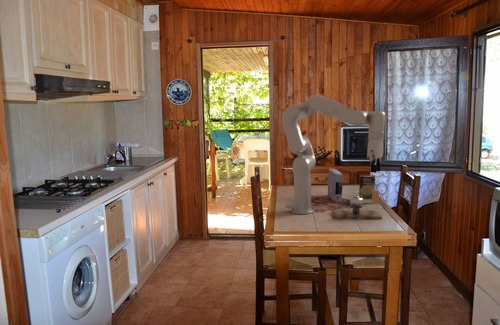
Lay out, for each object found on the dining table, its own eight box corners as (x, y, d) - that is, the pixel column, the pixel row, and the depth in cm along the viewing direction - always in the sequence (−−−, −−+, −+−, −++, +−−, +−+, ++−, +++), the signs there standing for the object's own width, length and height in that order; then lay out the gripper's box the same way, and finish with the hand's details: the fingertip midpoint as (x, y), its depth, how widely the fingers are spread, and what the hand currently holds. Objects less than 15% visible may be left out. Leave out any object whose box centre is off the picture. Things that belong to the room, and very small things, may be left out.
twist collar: (351, 206, 214) (351, 192, 213) (349, 203, 220) (349, 189, 219) (379, 206, 213) (380, 192, 212) (376, 203, 219) (377, 189, 218)
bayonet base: (334, 219, 213) (335, 208, 212) (331, 212, 225) (332, 202, 224) (381, 219, 211) (381, 208, 210) (376, 213, 223) (376, 202, 222)
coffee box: (358, 202, 246) (359, 176, 243) (358, 200, 252) (359, 174, 249) (374, 203, 243) (375, 177, 241) (374, 200, 249) (375, 175, 247)
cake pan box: (343, 202, 247) (343, 173, 245) (334, 202, 247) (335, 174, 245) (334, 195, 266) (335, 168, 264) (327, 195, 266) (327, 168, 264)
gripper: (375, 134, 214) (374, 168, 217) (362, 137, 201) (361, 173, 204) (389, 134, 209) (388, 170, 212) (377, 137, 196) (376, 174, 199)
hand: (375, 171), depth 208 cm, fingers open, 4 cm apart
